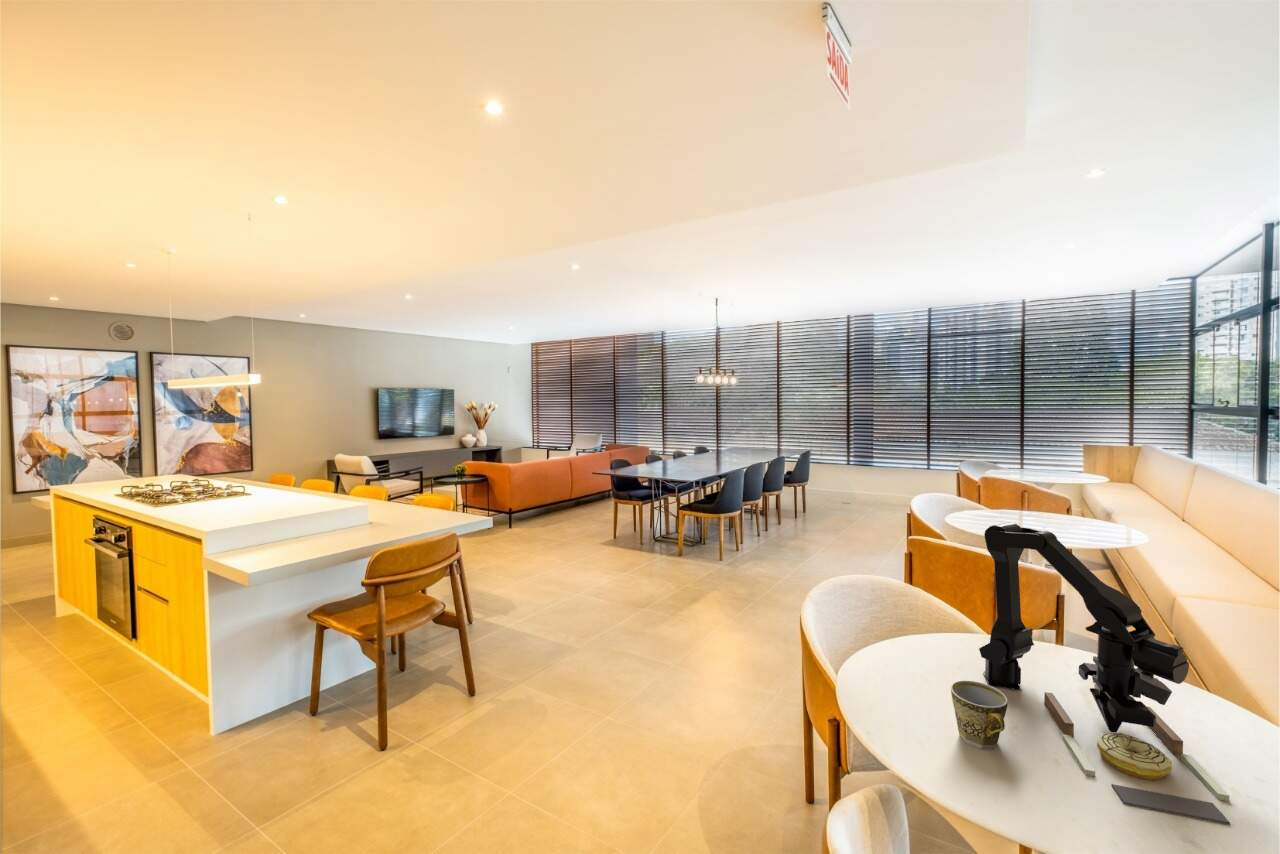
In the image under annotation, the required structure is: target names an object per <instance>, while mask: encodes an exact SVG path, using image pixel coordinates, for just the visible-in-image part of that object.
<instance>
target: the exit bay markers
mask: <svg viewBox="0 0 1280 854" xmlns="http://www.w3.org/2000/svg"><path fill="white" fill-rule="evenodd" d="M1061 735H1062V736H1061V737H1062V741H1063V742H1064V743H1065V745H1066V747H1067V748H1068V750H1069V752H1070V754H1071V755H1072V757H1073V758H1074V759H1075V762H1076V763H1077V764H1078V766H1079V768H1080V769H1081V771H1082V772H1083V774H1084V775H1085V776H1091V777H1096V770H1095V768H1093V766H1092V764H1091V763H1090V762H1089V760H1088V759H1087V757H1086V756H1085V753H1084V752H1083V751H1082V750H1081V748H1080V746H1079V745H1078V744H1077V742H1076V740H1075V739H1074V738H1073V737H1072V736H1071V735H1065V734H1063V733H1062V734H1061ZM1180 759H1181V761H1183V762H1184V764H1185V765H1186V766H1187V767H1188V768H1189V769H1190V770H1191V771H1192V773H1193V774H1194V775H1195V776H1196V777H1197V778H1198V779H1199V780H1200V781H1201V782H1202V783H1203V785H1204V786H1206V788H1207V789H1208V790H1209V791H1210V792H1211V793H1212V794H1213V795H1214V797H1215V798H1216V799H1218V800H1221V801H1225V802H1230V795H1229V793H1228V792H1227V791H1226V790H1225V789H1224V788H1223V787H1222V786H1221V785H1220V784H1219V783H1218V782H1217V781H1216V780H1215V778H1213V777H1212V775H1211V774H1209V773H1208V772H1207V770H1206V769H1205V768H1204V767H1203V766H1202V765H1201V764H1200V763H1199V762H1198V761H1197V760H1196V759H1195V758H1194V757H1193V756H1192V755H1191V754H1186V753H1183V754H1181V756H1180Z"/></svg>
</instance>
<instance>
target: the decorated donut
mask: <svg viewBox="0 0 1280 854" xmlns="http://www.w3.org/2000/svg"><path fill="white" fill-rule="evenodd" d="M1097 750H1098V752H1099V754H1100V756H1101V757H1102V758H1103V759H1104V760H1105V761H1106V762H1107V763H1109V765H1110V766H1112V767H1114V768H1115V769H1116V770H1118V771H1121V772H1123V773H1126V774H1127V775H1129V776H1133V777H1135V778H1138V779H1139V778H1140V779H1142V780H1149V781H1155V780H1161V779H1164V778H1165V777H1167V776H1168V775H1169V773H1171V772H1172V769H1173V767H1172V766H1173V765H1172V763H1173V762H1172V761H1171V759H1170V758H1169V757H1168V756H1167V755H1166V754H1165V753H1164V752H1163V751H1162V750H1160V749H1159V748H1158V747H1157V746H1155V745H1153V744H1151V743H1149V742H1147V741H1145V740H1143V739H1140V738H1139V737H1136V736H1132V735H1129V734H1126V733H1122V732H1117V733H1113V732H1110V733H1102V734H1101V735H1099V736H1098V737H1097Z"/></svg>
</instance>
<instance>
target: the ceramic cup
mask: <svg viewBox="0 0 1280 854" xmlns="http://www.w3.org/2000/svg"><path fill="white" fill-rule="evenodd" d="M950 691H951V692H950V693H951V700H952V703H953V708H954V714H955V720H956V723H957V724H956V725H957V732H958V735H959V737H960V738H962V740H963V741H964V742H965V744H967V745H968V746H969V745H970V746H972V747H974V748H977V749H980V750H982V751H983V750H988V751H989V750H991V751H993V750H994V749H995V748H996V746H997V745H998V743H999V739H1000V735H1001V732H1004V731H1005V727H1006V725H1005V717H1006V713H1007V709H1008V704H1009V700H1008V697H1007V695H1005V693H1004V692H1002V691H1001V690H1000V689H998V688H997V687H994V686H990V685H989V684H988V683H987V684H986V683H984V682H981V681H975V680H958V681H955V682H953V683H952V684H951V686H950Z"/></svg>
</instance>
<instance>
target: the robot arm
mask: <svg viewBox="0 0 1280 854" xmlns="http://www.w3.org/2000/svg"><path fill="white" fill-rule="evenodd" d="M984 541H985V545H986V550H987V551H988V553H989V555H990V556H991V557H992V559H993V563H994V565H993V566H994V580H995V581H994V582H995V600H996V602H995V603H996V605H995V606H996V620H995V622H994V624H993V626H992V628H991V631H990V639H989V643H987V644H986V643H985V644H984V645H982V646H981V647H979V648H978V650H979V653H980V657H981V658H983V659H984V660H985V664H984V665H985V670H983V672H982V674H983V677H984V678H985V679H986V682H987V685H990V686H992V687H994V688H1000V689H1001V688H1003V689H1008V690H1015V691H1016V690H1017V691H1020V690H1021V686H1020V685H1022V684H1021V683H1022V682H1021V681H1022V680H1021V679H1022V669H1021V666H1020V664H1019V661H1018V659H1022V658H1023V657H1024V655H1025V654H1027V653H1029V652H1030V651H1031V649H1032V646H1035V644H1034V641H1033V629H1032V628H1029V627H1026V625H1025V623H1024V622H1023V621H1022V613H1021V612H1022V611H1021V592H1020V590H1021V589H1020V572H1019V571H1020V570H1019V562H1020V561H1019V560H1020V558H1021V556H1022V555H1023V552H1024V551H1025V549H1026V550H1034V551H1037V552H1038V554H1040V556H1041V557H1042V558H1043V559H1045V561H1046V562H1047V563H1048V564H1049V565H1051V567H1052V568H1053V569H1055V570H1056V572H1057V573H1058V574H1059V575H1060V576H1062V578H1063V579H1065V581H1066V582H1067V583H1069V584H1070V585H1071V586H1072V587H1073V589H1074V590H1075V591H1076V592H1078V594H1079V595H1080V596H1081V598H1082V600H1083V603H1084V605H1085V608H1086V610H1087V611H1088V612H1089V613H1090V616H1092V617H1093V619H1094V620H1095V621H1094V623H1092V624H1091V625H1089V626H1085V630H1086V631H1087V632H1089V633H1092V634H1096V635H1097V653H1096V656H1094V655H1093V656H1092V661H1093V663H1089V662H1083V663H1081V664H1080V665H1078V675H1079V676H1080V678H1081V679H1082V680H1085V681H1087V680H1088V679H1089V676H1091V678H1092V683H1093V685H1094V687H1090V688H1089V691H1090V693H1091V695H1092V697H1093V699H1094V701H1095V703H1096V706H1097V707H1098V710H1099V712H1100V714H1101V716H1102V719H1103V721H1104V722H1105V725H1106V727H1107V729H1108V731H1109V732H1110V733H1118V731H1119V729H1120V728H1121V725H1122V723H1126V724H1131V725H1132V724H1133V725H1138V726H1143V727H1144V726H1146V727H1148V726H1150V727H1154V726H1156V716H1155V715H1154V714H1153V713H1152V712H1151V711H1150V710H1149V709H1148V707H1149V706H1147V705H1145V703H1143V702H1142V701H1138V700H1136V699H1135V698H1137V699H1141V698H1142V696H1143V697H1145V698H1148V699H1150V700H1153V701H1155V702H1157V703H1158V704H1160V705H1162V706H1165V705H1166V704H1167V702H1168V700H1169V698H1170V696H1171V695H1172V693H1173V691H1172V690H1171V689H1170V688H1169V687H1168V686H1167V685H1166V684H1165V683H1164V682H1162V681H1160V680H1159V678H1161V679H1164V680H1167V681H1168V682H1172V683H1174V684H1178V685H1180V684H1182V683H1183V682H1184V681H1185V680H1186V678H1187V676H1188V673H1189V667H1190V662H1189V661H1188V658H1187V656H1186V654H1185V653H1184V647H1182V646H1179V645H1176V644H1173V643H1168V642H1164V641H1162V640H1158V639H1155V638H1154V637H1156V633H1155V631H1154V630H1153V629H1152V627H1150V625H1149V623H1148V622H1147V621H1146V620H1145V618H1144V617H1143V616H1142V613H1143V612H1142V610H1141V608H1140V606H1139V605H1138V604H1137V603H1136V602H1135V601H1133V599H1131V598H1130V597H1128V596H1126V595H1125V594H1124V593H1123V592H1121V591H1120V590H1118V589H1116V588H1114V587H1112V586H1109V585H1108V584H1106V583H1105V582H1104V581H1102V580H1101V579H1100V578H1098V577H1097V576H1096V575H1095V574H1094V573H1093V572H1092V571H1091V570H1090V569H1089V568H1088V567H1087V566H1086V565H1085V564H1084V563H1083V562H1081V561H1080V560H1079V559H1078V558H1077V557H1076V556H1075V555H1074V554H1073V553H1072V551H1070V550H1069V549H1068V548H1067V547H1066V546H1065V545H1063V543H1062V542H1061V541H1059V540H1058V537H1057V536H1056V535H1055V534H1054V533H1053V532H1050V531H1048V530H1044V531H1043V530H1038V529H1035V528H1031V527H1024V526H1020V525H1018V524H1017V523H1015V522H1005V523H999V524H994V525H991V526H989V527H988V528H986V529H985V531H984ZM1130 627H1133V628H1134V629H1133V630H1131V631H1129V629H1128V628H1130ZM1135 667H1136V668H1135ZM1154 676H1156V677H1154ZM1157 677H1159V678H1157Z"/></svg>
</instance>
